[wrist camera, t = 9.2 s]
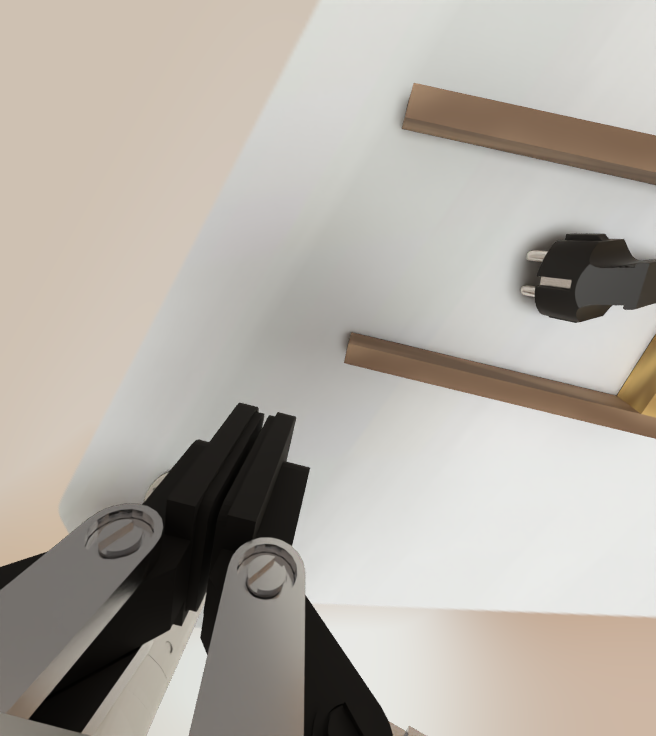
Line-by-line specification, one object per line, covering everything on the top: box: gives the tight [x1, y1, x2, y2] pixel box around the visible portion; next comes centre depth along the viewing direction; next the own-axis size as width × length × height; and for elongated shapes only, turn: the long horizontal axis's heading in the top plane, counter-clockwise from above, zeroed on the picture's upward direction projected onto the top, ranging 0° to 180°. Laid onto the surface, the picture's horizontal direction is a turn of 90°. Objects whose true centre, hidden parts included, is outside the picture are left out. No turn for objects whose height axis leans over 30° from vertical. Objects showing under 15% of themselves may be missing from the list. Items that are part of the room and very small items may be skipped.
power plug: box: [520, 233, 656, 323], centre depth 25 cm, size 6×8×12 cm
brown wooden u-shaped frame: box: [344, 83, 656, 439], centre depth 25 cm, size 18×26×3 cm
